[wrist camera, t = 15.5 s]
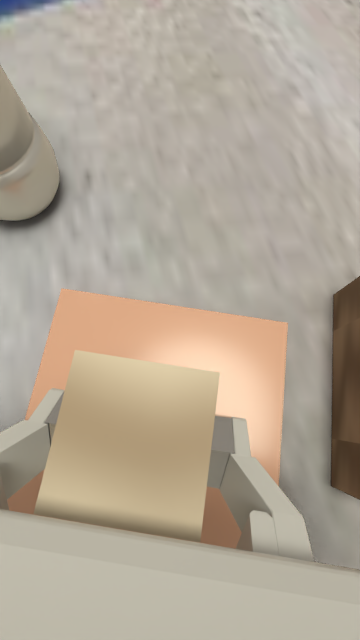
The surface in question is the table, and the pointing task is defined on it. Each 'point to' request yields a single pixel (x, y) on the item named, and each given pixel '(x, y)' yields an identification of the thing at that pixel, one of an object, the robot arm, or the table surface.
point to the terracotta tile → (180, 350)
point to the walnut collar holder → (346, 390)
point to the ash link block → (131, 446)
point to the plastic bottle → (23, 159)
